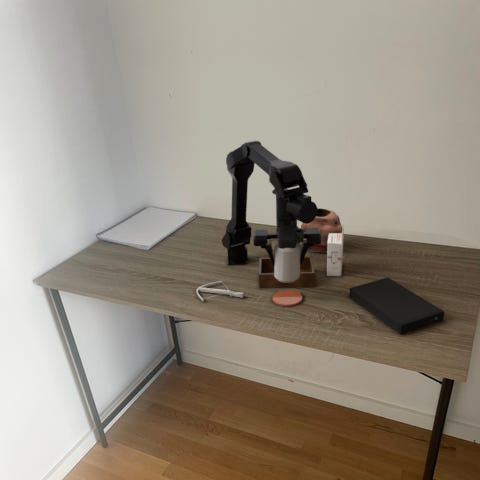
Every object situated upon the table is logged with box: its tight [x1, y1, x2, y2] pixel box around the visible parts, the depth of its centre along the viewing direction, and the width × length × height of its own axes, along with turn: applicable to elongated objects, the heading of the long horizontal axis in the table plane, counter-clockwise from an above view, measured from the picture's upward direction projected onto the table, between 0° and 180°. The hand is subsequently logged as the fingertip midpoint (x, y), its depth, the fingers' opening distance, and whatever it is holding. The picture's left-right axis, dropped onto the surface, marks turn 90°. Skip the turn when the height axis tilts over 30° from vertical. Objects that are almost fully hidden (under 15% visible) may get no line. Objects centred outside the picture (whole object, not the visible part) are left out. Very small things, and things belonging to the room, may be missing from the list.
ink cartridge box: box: [326, 227, 345, 277], centre depth 151 cm, size 9×5×15 cm, turn 168°
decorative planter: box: [297, 207, 345, 254], centre depth 168 cm, size 20×12×14 cm, turn 60°
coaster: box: [272, 289, 303, 307], centre depth 141 cm, size 9×9×1 cm
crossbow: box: [195, 280, 245, 302], centre depth 146 cm, size 16×13×2 cm
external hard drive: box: [348, 277, 445, 336], centre depth 132 cm, size 14×23×3 cm, turn 24°
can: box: [274, 240, 302, 283], centre depth 135 cm, size 8×8×12 cm
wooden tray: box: [258, 255, 316, 289], centre depth 151 cm, size 17×12×5 cm
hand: (287, 264), depth 135 cm, fingers closed on can, 8 cm apart
